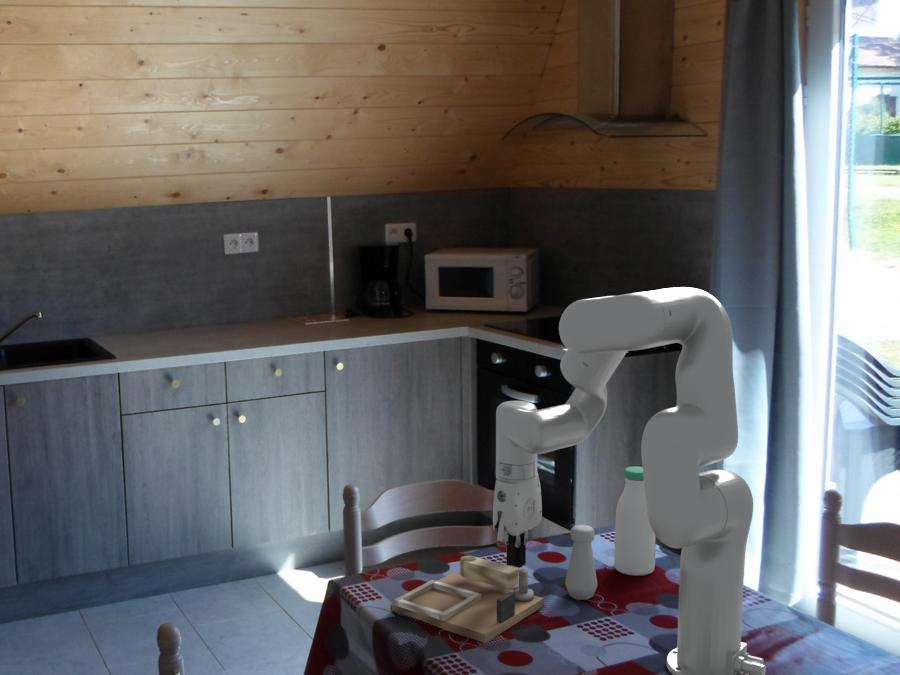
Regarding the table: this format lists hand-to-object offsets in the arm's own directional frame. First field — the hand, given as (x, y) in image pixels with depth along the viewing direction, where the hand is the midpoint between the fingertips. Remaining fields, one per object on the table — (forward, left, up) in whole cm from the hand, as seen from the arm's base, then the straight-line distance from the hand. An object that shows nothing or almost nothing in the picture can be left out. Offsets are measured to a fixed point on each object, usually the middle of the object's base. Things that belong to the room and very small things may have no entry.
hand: (516, 564), depth 197 cm
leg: (+2, +7, -1) cm, 7 cm away
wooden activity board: (+1, +14, -4) cm, 14 cm away
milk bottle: (-14, -20, -4) cm, 25 cm away
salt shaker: (-12, -3, -4) cm, 13 cm away
